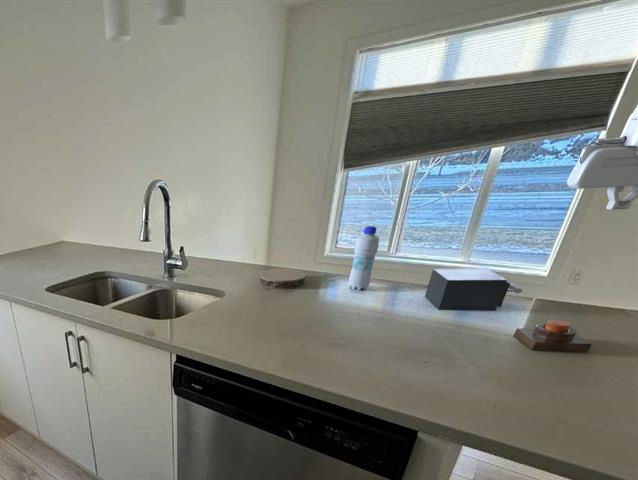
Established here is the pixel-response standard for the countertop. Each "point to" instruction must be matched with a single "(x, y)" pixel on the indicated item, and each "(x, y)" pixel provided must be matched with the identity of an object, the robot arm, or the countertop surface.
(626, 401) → the countertop surface
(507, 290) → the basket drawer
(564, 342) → the control pad
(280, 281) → the round wood slice
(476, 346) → the countertop surface
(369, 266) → the bottle
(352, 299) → the countertop surface
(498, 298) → the dark navy box
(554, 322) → the button
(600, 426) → the countertop surface
